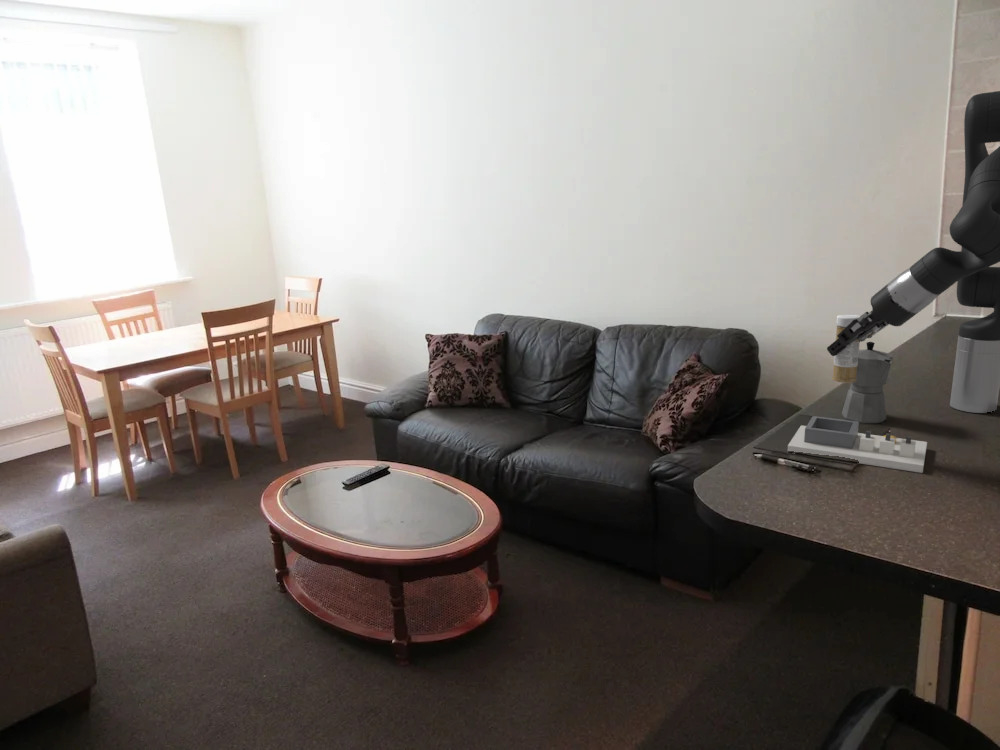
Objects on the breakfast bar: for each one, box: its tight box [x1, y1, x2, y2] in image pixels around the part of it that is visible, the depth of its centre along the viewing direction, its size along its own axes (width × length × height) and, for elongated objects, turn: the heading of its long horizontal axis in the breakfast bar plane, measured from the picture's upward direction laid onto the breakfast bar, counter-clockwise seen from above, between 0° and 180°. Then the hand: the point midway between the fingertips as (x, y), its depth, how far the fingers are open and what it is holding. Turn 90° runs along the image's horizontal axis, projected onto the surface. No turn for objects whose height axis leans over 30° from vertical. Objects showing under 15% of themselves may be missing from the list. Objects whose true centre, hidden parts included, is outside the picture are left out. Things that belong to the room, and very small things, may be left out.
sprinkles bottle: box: [831, 313, 861, 384], centre depth 141 cm, size 5×5×13 cm
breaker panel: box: [787, 415, 928, 474], centre depth 142 cm, size 14×24×5 cm, turn 57°
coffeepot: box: [841, 341, 894, 424], centre depth 161 cm, size 15×9×18 cm, turn 13°
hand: (836, 350), depth 142 cm, fingers closed on sprinkles bottle, 4 cm apart
